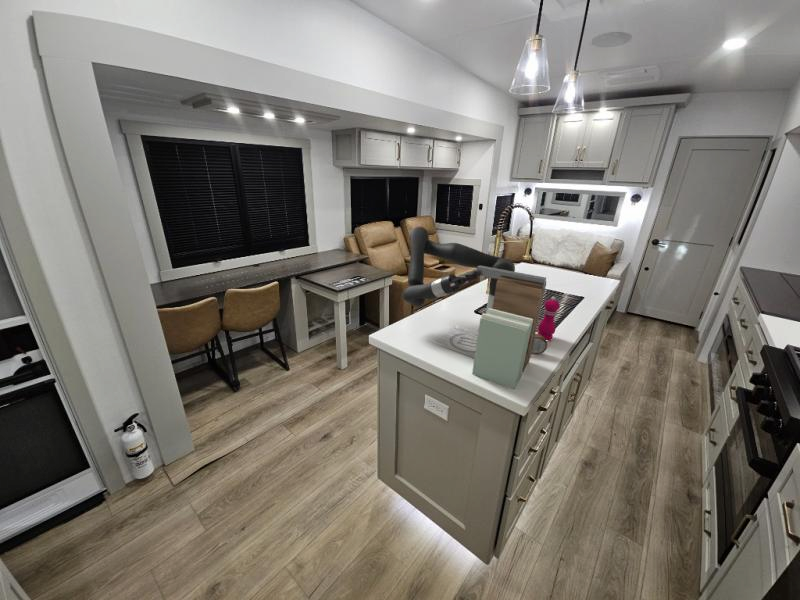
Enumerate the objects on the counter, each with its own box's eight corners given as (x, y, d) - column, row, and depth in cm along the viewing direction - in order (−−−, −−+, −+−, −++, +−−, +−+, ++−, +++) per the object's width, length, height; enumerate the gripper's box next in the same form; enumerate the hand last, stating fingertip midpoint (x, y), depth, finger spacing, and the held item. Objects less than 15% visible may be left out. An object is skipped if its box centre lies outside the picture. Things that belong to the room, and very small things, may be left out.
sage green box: (480, 363, 121) (489, 307, 113) (521, 377, 114) (533, 318, 105) (472, 374, 114) (480, 314, 106) (514, 389, 106) (527, 327, 98)
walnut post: (491, 349, 131) (504, 272, 120) (529, 361, 124) (547, 280, 112) (484, 358, 124) (497, 277, 112) (523, 372, 117) (542, 286, 105)
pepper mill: (555, 337, 145) (565, 296, 138) (550, 343, 140) (560, 300, 132) (539, 332, 149) (548, 292, 142) (533, 337, 144) (542, 296, 137)
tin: (544, 353, 131) (548, 335, 128) (545, 357, 128) (550, 338, 125) (506, 347, 134) (510, 329, 132) (506, 350, 132) (510, 332, 129)
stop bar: (478, 272, 122) (479, 265, 121) (544, 285, 110) (546, 277, 109) (475, 274, 120) (476, 266, 119) (543, 287, 108) (544, 279, 107)
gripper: (433, 281, 124) (469, 267, 114) (449, 273, 136) (483, 260, 126) (440, 298, 125) (477, 286, 115) (455, 290, 136) (490, 278, 126)
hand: (480, 273), depth 120 cm, fingers open, 8 cm apart
